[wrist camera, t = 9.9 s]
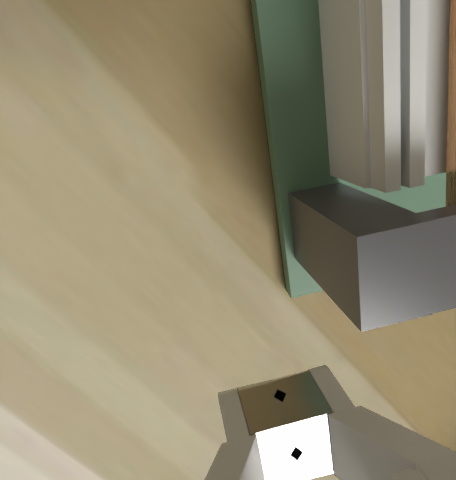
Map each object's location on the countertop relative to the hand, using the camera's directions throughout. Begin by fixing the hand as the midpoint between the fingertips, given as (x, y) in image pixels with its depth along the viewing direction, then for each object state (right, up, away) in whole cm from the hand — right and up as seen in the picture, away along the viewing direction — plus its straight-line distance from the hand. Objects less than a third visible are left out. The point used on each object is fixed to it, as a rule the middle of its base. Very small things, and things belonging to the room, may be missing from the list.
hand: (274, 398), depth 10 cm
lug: (+5, +5, +12) cm, 14 cm away
